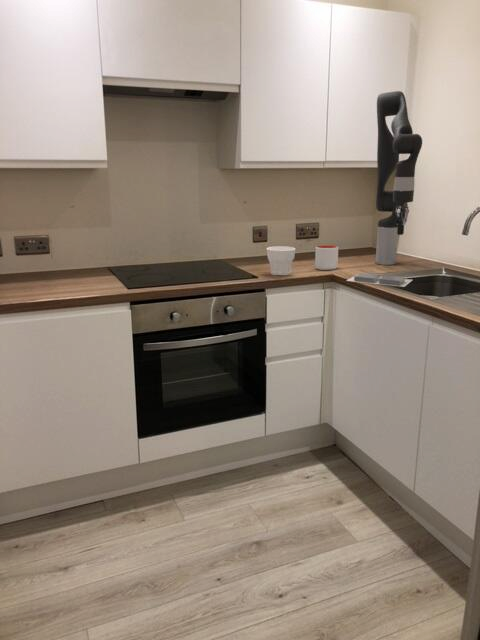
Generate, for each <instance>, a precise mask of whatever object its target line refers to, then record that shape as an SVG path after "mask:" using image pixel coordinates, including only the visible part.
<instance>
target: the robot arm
mask: <svg viewBox="0 0 480 640" xmlns="http://www.w3.org/2000/svg"><path fill="white" fill-rule="evenodd" d="M391 116H392V117H393V116H394V118H393V119H392V121H391V127H390V128H391V131H390V128H389V126H388V124H387V120H386V117H391ZM376 118H377V119H376V120H377V149H376V150H377V153H376V155H377V156H376V161H377V164H376V165H377V181H376V182H377V184H376V200H375V207H376V211H378V212H382V213H383V212H385V213H390V212H392V213H391V215H389V216H388V217H386V218H383V219H379V220H378V222H377V234H376V237H377V239H376V249H375V250H376V251H375V264H378V265H381V266H382V265H385V266H389V265H390V266H392V265H396V263H397V253H398V237H399V236H403V235H404V232H405V225H406V223H407V221H408V216H409V212H410V209H409V205H408V203H412V202H414V193H415V174H416V166H417V162H418V158H419V154H420V152H421V149H422V146H423V138H422V136H421V135H420V134H418V133H414V132H413V130H414V129H413V127H412V126H411V125H412V124H411V123H410V119H409V115H408V107H407V100H406V97H405V94H404V92H402V91H400V90H395V91H389V92H382V93H379V94H378V95H377V98H376ZM400 155H409V156H408V158H407V159H402V160H400ZM394 172H395V176H394V177H395V178H394V182H393V190H385V188H386V184H387V183H388V180H389V179H390V177H391V176H392V175H393V173H394Z"/></svg>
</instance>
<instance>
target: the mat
mask: <svg viewBox="0 0 480 640" xmlns="http://www.w3.org/2000/svg"><path fill="white" fill-rule="evenodd" d="M356 275H357V274H355V275H354V276H356ZM354 276H352V277H350V278H348V279H347V280H345V281H346V282H352V283H353V282H354V283H363V284H364V283H365V284H373V285H384V286H392V287H401V288H405V287H407V285H409V284H410V283H411V282H412V281H413V279H408V278H405V281H404V282H403V283H402V284H401V285H391V284H382V283H379V279H378V280H377V281H375V282H373V283H372V282H362V281H355V280H354ZM381 277H382V276H380V278H381Z"/></svg>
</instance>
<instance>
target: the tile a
mask: <svg viewBox="0 0 480 640" xmlns="http://www.w3.org/2000/svg"><path fill="white" fill-rule="evenodd" d="M355 275H356V276H355ZM355 275H354V280H355V281H362V282H372V283H373V282H375V281H377V280H378V279H380V277H381V274H375V273H366V272H360V273H358V274H355ZM362 282H361V283H362ZM372 283H371V284H372Z"/></svg>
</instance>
